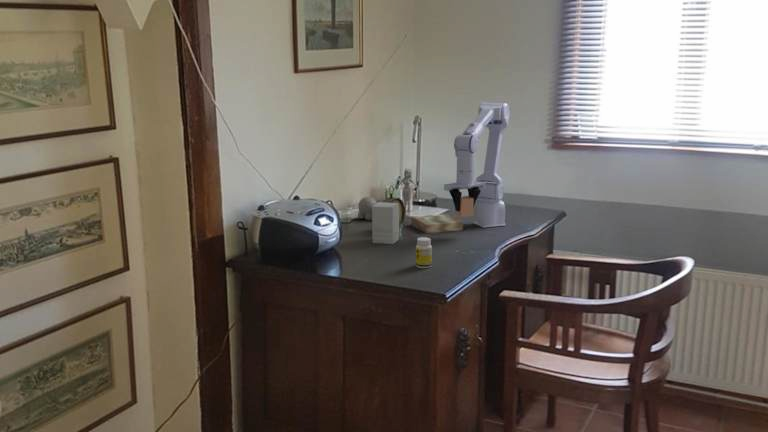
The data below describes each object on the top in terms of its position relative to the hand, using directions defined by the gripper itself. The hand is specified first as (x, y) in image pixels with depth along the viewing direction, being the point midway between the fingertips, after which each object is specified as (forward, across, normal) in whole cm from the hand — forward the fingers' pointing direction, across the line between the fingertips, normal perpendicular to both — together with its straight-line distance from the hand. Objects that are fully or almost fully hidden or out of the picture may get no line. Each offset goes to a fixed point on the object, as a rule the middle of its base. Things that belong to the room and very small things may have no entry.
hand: (464, 210), depth 259 cm
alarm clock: (+10, -20, +17) cm, 28 cm away
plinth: (+9, -3, +16) cm, 19 cm away
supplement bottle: (+10, -27, -28) cm, 40 cm away
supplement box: (+10, -27, +4) cm, 29 cm away
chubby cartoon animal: (+10, -20, +36) cm, 42 cm away
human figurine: (+10, -5, +39) cm, 40 cm away
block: (+2, 0, 0) cm, 2 cm away
